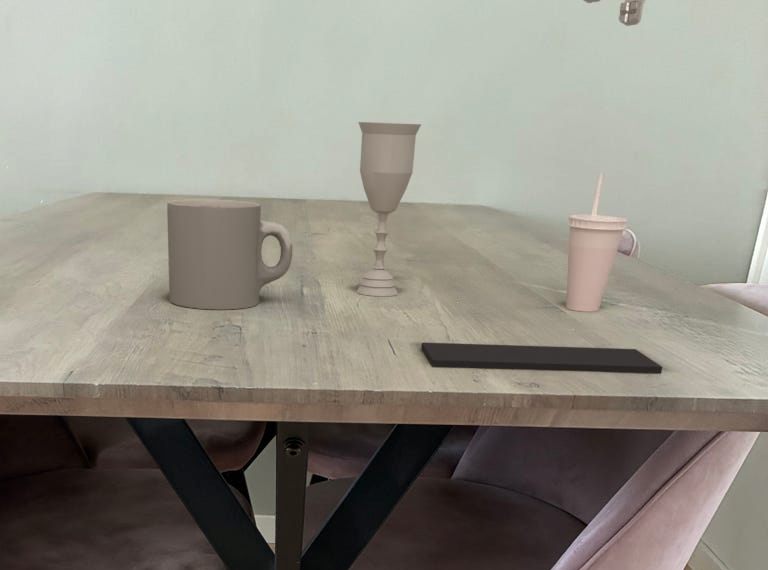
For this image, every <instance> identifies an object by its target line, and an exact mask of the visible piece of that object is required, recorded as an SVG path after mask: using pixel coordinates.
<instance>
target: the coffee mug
mask: <svg viewBox="0 0 768 570" xmlns="http://www.w3.org/2000/svg"><path fill="white" fill-rule="evenodd" d="M166 203H167V205H166V208H167V209H166V210H167V211H166V213H167V214H166V215H167V250H168V251H167V254H168V289H169V290H168V291H169V295H168V297H169V302H170V303H171V304H173V305H175V306H180V307H184V308H190V309H197V310H218V311H219V310H220V311H221V310H222V311H223V310H224V311H225V310H241V309H247V308H253V307H255V306H258V305H259V303H260V292H261V289H262V288H263V287H264V286H265V285H268V284H270V283H272V282H274V281H277V280H279V279H281V278H282V277H283V276H285V275H286V273H287V272H288V271H289V269H290V267H291V264H292V259H293V241H292V237H291V235H290V232H289V231H288V229H287V228H286V227H285V226H284V225H282V224H280V223H278V222H273V221H266V220H262V219H261V217H262V216H261V213H262V211H261V210H262V207H261V204H260V203H258V202H254V201H253V202H252V201H248V200H247V201H246V200H234V199H219V198H218V199H217V198H216V199H215V198H185V199H182V198H181V199H172V200H168V201H167V202H166ZM269 236H272V237H274V238H275V239H277V241H278V244H279V247H280V256H279V260H278V262H277V263H276V264H275V265H273V266H268V265H266V263H265V262H264V259H263V256H262V248H263V243H264V240H265V239H266V238H267V237H269Z"/></svg>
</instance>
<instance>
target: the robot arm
mask: <svg viewBox="0 0 768 570" xmlns="http://www.w3.org/2000/svg"><path fill="white" fill-rule="evenodd" d="M583 1H584V2H585V3H588V4H592V3H599V2H600V1H601V0H583ZM645 2H646V0H624V2H621V3H620V7H619V15H618V21H619V22H620V23H621V24H622V25H625V26H627V27H630V26H635V25H638V24H639V23H641V21H642V14H643V8H644V4H645Z"/></svg>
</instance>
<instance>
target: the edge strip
mask: <svg viewBox="0 0 768 570" xmlns="http://www.w3.org/2000/svg"><path fill="white" fill-rule="evenodd" d="M420 346H421V347H420V349H421V351H422V352H423V354H424V355H425V357H426V359H427V360H428V362H429V364H430V366H431V367H432V368H434V367H435V368H461V369H462V368H464V369H491V370H492V369H493V370H494V369H495V370H496V369H497V370H529V371H530V370H532V371H558V372H559V371H560V372H561V371H563V372H565V371H566V372H593V373H595V372H596V373H597V372H598V373H625V374H626V373H627V374H629V373H630V374H657V375H658V374H662V372H663V366H662V365H660V364H659V363H657V362H656V361H655V360H653V359H651V358H650V357H648V356H647V355H645V354H643V353H642V352H641V351H640V350H638V349H636V348H610V347H609V348H608V347H581V346H580V347H576V346H549V345H547V346H546V345H515V344H514V345H513V344H483V343H482V344H481V343H479V344H478V343H453V342H452V343H451V342H450V343H449V342H421V345H420Z"/></svg>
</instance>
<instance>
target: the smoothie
mask: <svg viewBox="0 0 768 570" xmlns="http://www.w3.org/2000/svg"><path fill="white" fill-rule="evenodd" d="M604 174H605V173H597V179H596V186H595V191H594V196H593V203H592V209H591V213H589V214H586V213H583V214H582V213H579V214H571V215H569V216H568V222H567V225H566V226H568V227H569V238H568V256H567V257H568V258H567V259H568V261H567V277H566V278H567V279H566V296H565V297H566V298H565V299H566V300H565V308H566V309H568V310H570V311H576V312H588V313H589V312H590V313H591V312H599V310H600V308H601V304H602V302H603V298H604V295H605V291H606V288H607V285H608V282H609V278H610V275H611V271H612V268H613V265H614V262H615V259H616V255H617V252H618V249H619V247H620V243H621V239H622V236H623V233H624V231H625V230H627V229H628V222H629V220H628V218H626V217H620V216H611V215H603V214H597V213H598V208H599V202H600V196H601V191H602V186H603V180H604Z"/></svg>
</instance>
